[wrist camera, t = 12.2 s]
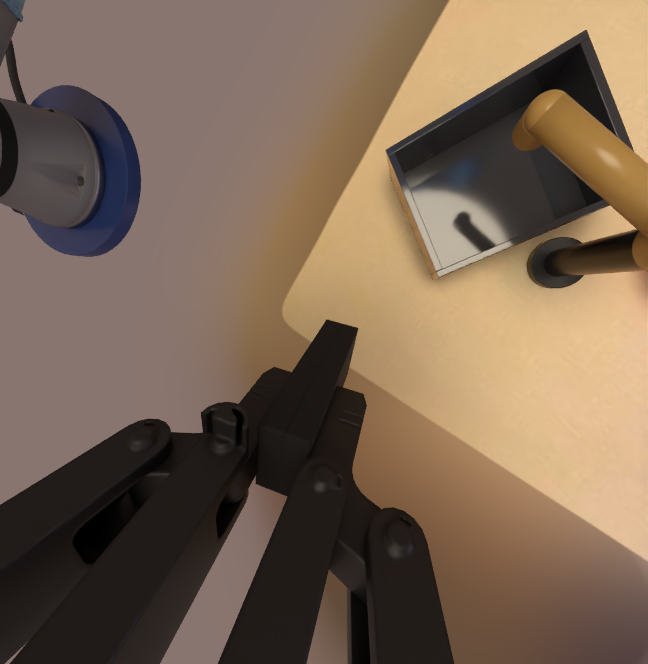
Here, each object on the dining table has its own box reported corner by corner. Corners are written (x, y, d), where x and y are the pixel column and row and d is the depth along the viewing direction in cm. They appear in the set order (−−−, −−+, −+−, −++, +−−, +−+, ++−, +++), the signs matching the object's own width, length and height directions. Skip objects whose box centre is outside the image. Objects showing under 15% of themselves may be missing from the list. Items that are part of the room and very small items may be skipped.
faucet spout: (711, 245, 16) (781, 235, 13) (649, 288, 17) (701, 288, 14) (542, 98, 17) (571, 57, 14) (494, 146, 18) (511, 119, 15)
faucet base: (519, 252, 29) (599, 226, 17) (573, 229, 28) (705, 183, 15) (537, 295, 29) (629, 301, 17) (591, 275, 28) (737, 266, 16)
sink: (390, 177, 32) (385, 149, 25) (544, 90, 27) (587, 28, 20) (432, 279, 32) (438, 277, 26) (592, 212, 27) (649, 188, 21)
